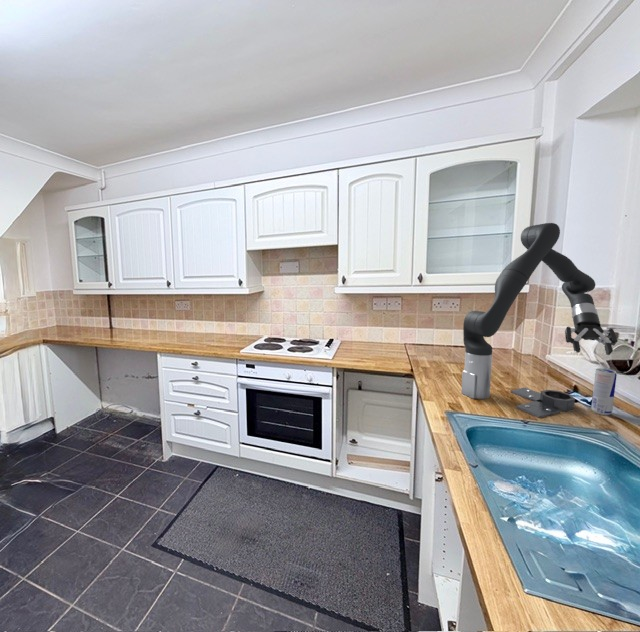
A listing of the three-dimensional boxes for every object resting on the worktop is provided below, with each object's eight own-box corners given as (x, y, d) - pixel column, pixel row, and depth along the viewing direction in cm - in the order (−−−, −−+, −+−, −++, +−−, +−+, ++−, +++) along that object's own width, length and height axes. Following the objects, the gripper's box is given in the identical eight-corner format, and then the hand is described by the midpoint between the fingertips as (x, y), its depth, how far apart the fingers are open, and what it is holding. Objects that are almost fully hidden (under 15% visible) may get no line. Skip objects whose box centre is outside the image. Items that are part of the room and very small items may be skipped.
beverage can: (615, 414, 98) (621, 371, 96) (605, 417, 96) (610, 373, 94) (597, 408, 103) (602, 366, 100) (587, 410, 101) (591, 368, 99)
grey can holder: (540, 418, 96) (541, 407, 96) (490, 396, 114) (491, 386, 114) (579, 408, 103) (580, 397, 102) (525, 389, 120) (526, 379, 120)
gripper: (565, 310, 116) (571, 345, 107) (613, 312, 110) (624, 349, 101) (559, 321, 121) (565, 355, 113) (605, 323, 115) (615, 359, 107)
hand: (593, 352), depth 107 cm, fingers open, 8 cm apart
